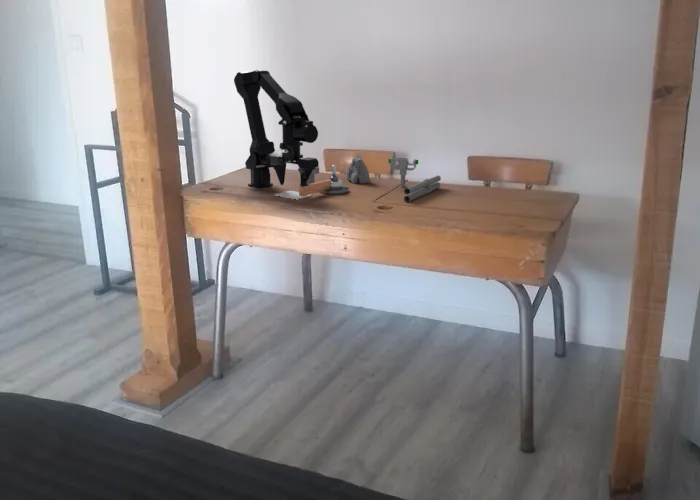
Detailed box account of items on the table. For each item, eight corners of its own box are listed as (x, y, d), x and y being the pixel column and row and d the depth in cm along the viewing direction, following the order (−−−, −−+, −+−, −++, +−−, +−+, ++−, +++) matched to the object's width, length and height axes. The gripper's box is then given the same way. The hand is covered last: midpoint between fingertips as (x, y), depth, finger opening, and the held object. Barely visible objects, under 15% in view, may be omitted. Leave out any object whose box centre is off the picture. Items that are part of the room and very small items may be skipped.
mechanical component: (416, 188, 244) (417, 159, 241) (387, 187, 246) (388, 158, 243) (417, 186, 247) (418, 158, 244) (388, 185, 249) (389, 157, 246)
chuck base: (313, 191, 238) (313, 188, 237) (331, 187, 245) (331, 184, 245) (336, 195, 232) (336, 193, 231) (354, 190, 239) (354, 188, 239)
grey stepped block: (297, 186, 247) (297, 166, 244) (305, 184, 250) (305, 164, 248) (312, 188, 242) (312, 168, 240) (320, 186, 246) (320, 166, 244)
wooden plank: (332, 185, 242) (332, 162, 240) (346, 187, 239) (346, 164, 236) (294, 195, 227) (293, 171, 225) (308, 197, 223) (307, 173, 221)
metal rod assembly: (410, 203, 223) (410, 188, 222) (402, 202, 225) (402, 187, 223) (441, 188, 245) (442, 174, 243) (434, 188, 246) (435, 173, 245)
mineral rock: (349, 176, 264) (349, 149, 261) (376, 178, 261) (377, 151, 258) (339, 183, 252) (339, 155, 249) (368, 185, 249) (368, 157, 246)
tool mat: (274, 195, 231) (274, 194, 231) (289, 192, 237) (289, 190, 237) (297, 200, 226) (297, 198, 225) (312, 196, 231) (312, 194, 231)
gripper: (253, 139, 228) (255, 186, 233) (296, 145, 217) (297, 194, 222) (276, 136, 237) (278, 181, 241) (319, 141, 226) (319, 188, 230)
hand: (292, 186), depth 233 cm, fingers open, 9 cm apart
